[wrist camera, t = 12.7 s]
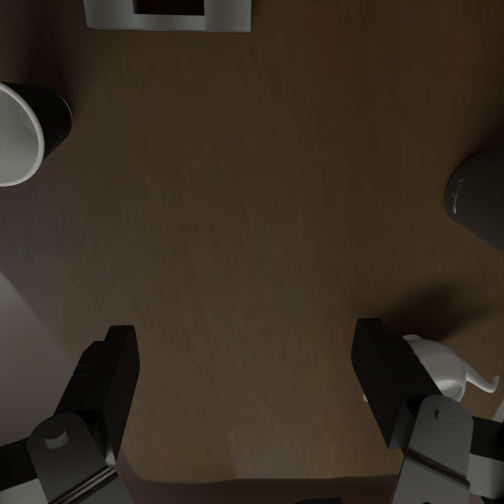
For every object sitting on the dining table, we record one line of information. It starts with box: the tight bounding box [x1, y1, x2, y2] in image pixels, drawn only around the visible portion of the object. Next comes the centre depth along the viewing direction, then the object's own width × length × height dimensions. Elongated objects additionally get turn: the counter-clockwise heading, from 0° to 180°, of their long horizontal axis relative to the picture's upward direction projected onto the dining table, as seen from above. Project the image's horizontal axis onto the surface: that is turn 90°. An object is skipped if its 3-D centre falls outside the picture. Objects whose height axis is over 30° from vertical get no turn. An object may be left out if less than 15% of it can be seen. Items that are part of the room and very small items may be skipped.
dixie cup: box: [0, 82, 72, 186], centre depth 32 cm, size 8×8×11 cm
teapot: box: [363, 335, 499, 402], centre depth 51 cm, size 10×20×9 cm, turn 86°
